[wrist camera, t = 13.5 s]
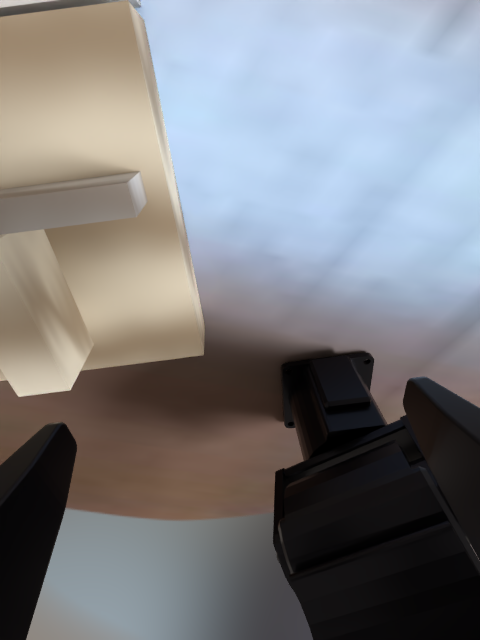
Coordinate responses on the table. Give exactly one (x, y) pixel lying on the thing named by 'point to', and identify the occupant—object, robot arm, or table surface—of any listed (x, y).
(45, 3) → the box
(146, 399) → the table surface
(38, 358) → the scraper
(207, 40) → the table surface
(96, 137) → the board
